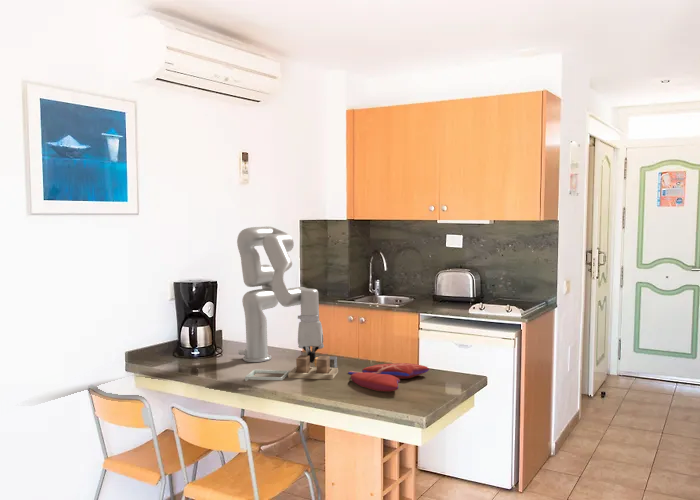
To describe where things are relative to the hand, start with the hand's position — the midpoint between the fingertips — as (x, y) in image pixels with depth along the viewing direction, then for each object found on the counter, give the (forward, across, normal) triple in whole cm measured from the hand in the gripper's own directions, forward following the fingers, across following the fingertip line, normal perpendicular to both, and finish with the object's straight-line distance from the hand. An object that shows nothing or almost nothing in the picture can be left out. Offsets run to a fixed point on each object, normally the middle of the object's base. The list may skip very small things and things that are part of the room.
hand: (311, 361), depth 254 cm
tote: (+4, -15, -14) cm, 21 cm away
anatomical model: (+4, +30, -11) cm, 33 cm away
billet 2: (+3, +8, -10) cm, 13 cm away
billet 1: (+3, -1, -10) cm, 10 cm away
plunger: (+1, +4, 0) cm, 4 cm away
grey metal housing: (+4, +7, 0) cm, 8 cm away
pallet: (+4, +3, -10) cm, 11 cm away
